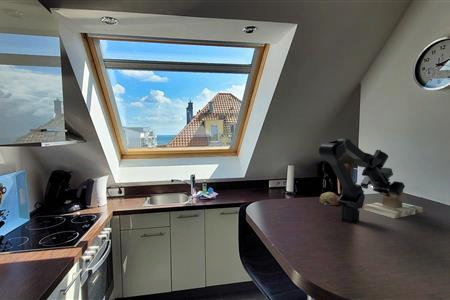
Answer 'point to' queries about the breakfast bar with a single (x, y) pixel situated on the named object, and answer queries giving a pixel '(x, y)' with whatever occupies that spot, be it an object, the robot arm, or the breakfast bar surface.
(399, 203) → the walnut block
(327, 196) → the bread roll
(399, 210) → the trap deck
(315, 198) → the breakfast bar surface
